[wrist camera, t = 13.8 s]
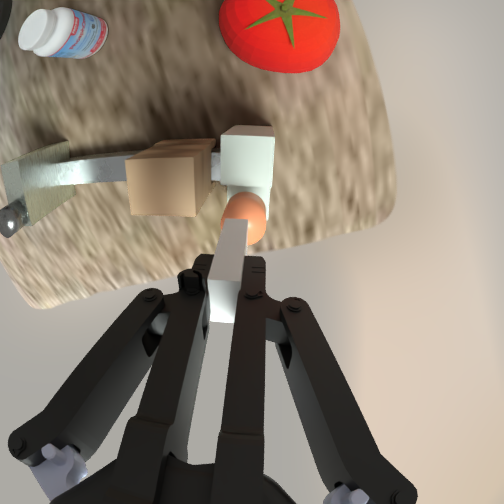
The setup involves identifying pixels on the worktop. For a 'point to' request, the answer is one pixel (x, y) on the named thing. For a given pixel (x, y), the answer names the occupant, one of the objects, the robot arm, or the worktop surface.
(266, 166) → the pale stepped block
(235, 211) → the cylinder
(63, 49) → the pill bottle
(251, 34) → the tomato
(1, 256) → the worktop surface
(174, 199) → the block
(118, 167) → the rail
